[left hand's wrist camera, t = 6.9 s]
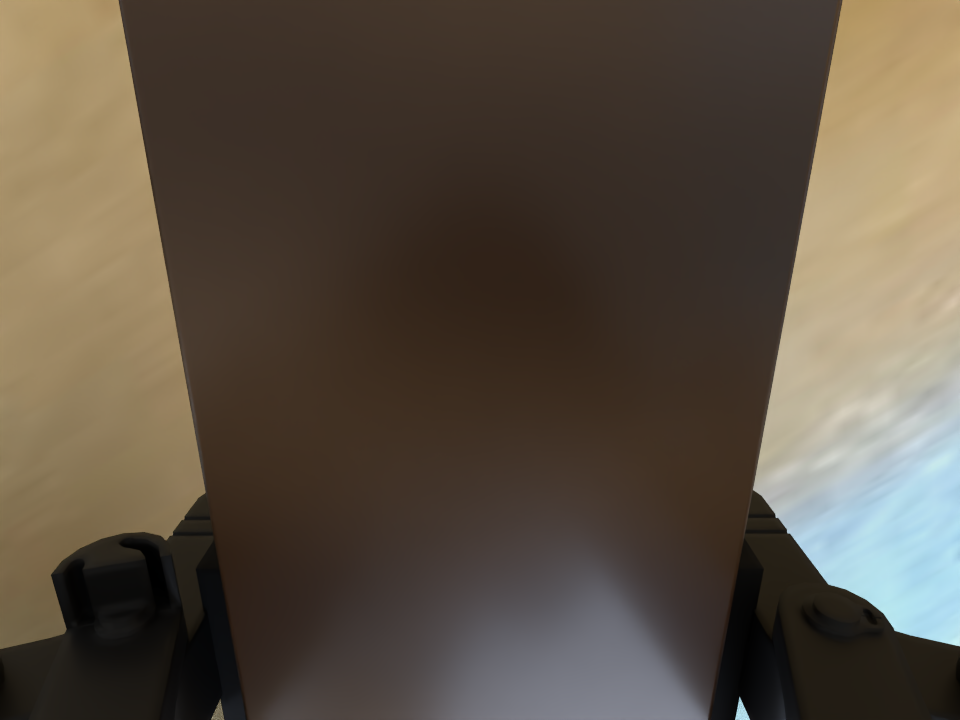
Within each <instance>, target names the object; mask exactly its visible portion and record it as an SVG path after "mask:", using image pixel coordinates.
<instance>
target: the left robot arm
mask: <svg viewBox="0 0 960 720" xmlns="http://www.w3.org/2000/svg"><path fill="white" fill-rule="evenodd" d="M51 577H52V580H53V584H54V587H55V591H56V594H57V598H58V601H59V604H60V608H61V611H62V615H63V618H64V622H65V625H66V628H67V630H66V632H65V634H62V635H59V636H56V637H52V638H48V639H44V640H39V641H35V642H31V643H26V644H22V645H17V646H13V647H8V648H4V649H0V720H211V718H212V716H213V714H214V712H215V709H216V707H217V705H218V703H219V700H220V699H221V704H222V709H223V714H224V720H246V716H245V711H244V705H243V699H242V694H241V688H240V682H239V677H238V671H237V665H236V660H235V654H234V649H233V643H232V637H231V632H230V626H229V620H228V615H227V609H226V603H225V598H224V592H223V586H222V581H221V575H220V569H219V564H218V558H217V553H216V547H215V541H214V536H213V530H212V524H211V519H210V513H209V507H208V502H207V496H206V493H205V494H204V495H202V496H201V497H199V498H198V499H197V501H196V502H195V503H194V505H193V506H192V507H191V509H190V510H189V511H188V513H187V514H186V515H185V519H184V520H182V521H181V522H180V523H179V525H178V526H177V527H176V529H175V530H174V531H173V536H170V537H169V538H168V539H167V541H166V540H165V539H164V538H162V537H161V536H159V535H154V534H150V533H145V532H140V533H123V534H119V535H115V536H111V537H107V538H103V539H100V540H98V541H96V542H94V543H91V544H89V545H87V546H85V547H82V548H80V549H79V550H77V551H76V552H74V553H73V554H72V555H70V556H69V557H67V558H66V559H64V560H63V561H62V562H61V563H60V564H59V566H58V567H57V568H56V569H55V570H54V572H53V573H52V574H51ZM739 697H740V698H741V700H742V703H743V705H744V707H745V709H746V711H747V714H748V716H749V718H750V720H960V646H955V645H951V644H946V643H942V642H937V641H933V640H928V639H924V638H919V637H915V636H910V635H907V634H903V633H900V632H897V631H894V628H893V627H892V625H891V624H890V623H889V621H888V620H887V618H886V617H885V615H884V614H883V613H882V612H881V611H879V610H878V609H877V608H876V607H874V606H873V605H872V604H871V603H869V602H868V601H867V600H865V599H863V598H861V597H859V596H857V595H855V594H853V593H851V592H849V591H847V590H845V589H842V588H838V587H835V586H831V585H828V584H827V582H826V581H825V580H824V578H823V577H822V576H821V574H820V573H819V572H818V570H817V569H816V568H815V566H814V565H813V564H812V562H811V561H810V560H809V558H808V557H807V556H806V554H805V553H804V552H803V550H802V549H801V548H800V546H799V545H798V544H797V542H796V541H795V540H794V538H793V537H792V536H791V534H787V529H786V528H785V527H784V525H783V524H782V523H781V521H780V520H779V519H778V518H776V517H775V513H774V512H773V511H772V509H771V508H770V507H769V505H768V504H767V503H766V501H765V500H764V499H763V497H762V496H761V495H759V494H758V493H756V492H755V491H752V497H751V502H750V508H749V513H748V519H747V524H746V530H745V535H744V540H743V546H742V551H741V557H740V562H739V568H738V573H737V579H736V584H735V590H734V595H733V601H732V606H731V612H730V617H729V622H728V628H727V633H726V639H725V644H724V650H723V655H722V661H721V666H720V672H719V677H718V683H717V688H716V693H715V699H714V704H713V710H712V715H711V720H735V717H736V712H737V707H738V702H739Z"/></svg>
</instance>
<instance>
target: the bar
mask: <svg viewBox="0 0 960 720" xmlns="http://www.w3.org/2000/svg"><path fill="white" fill-rule="evenodd" d="M119 5H120V10H121V16H122V22H123V27H124V33H125V39H126V44H127V50H128V56H129V61H130V67H131V72H132V78H133V84H134V89H135V95H136V101H137V106H138V112H139V118H140V123H141V129H142V135H143V140H144V146H145V152H146V157H147V163H148V168H149V174H150V180H151V185H152V191H153V197H154V202H155V208H156V214H157V219H158V225H159V231H160V236H161V242H162V248H163V253H164V259H165V264H166V270H167V276H168V281H169V287H170V293H171V298H172V304H173V310H174V315H175V321H176V327H177V332H178V338H179V344H180V349H181V355H182V361H183V366H184V372H185V377H186V383H187V389H188V394H189V400H190V406H191V411H192V417H193V423H194V428H195V434H196V440H197V445H198V451H199V457H200V462H201V468H202V473H203V479H204V485H205V490H206V496H207V502H208V507H209V513H210V519H211V524H212V530H213V536H214V541H215V547H216V553H217V558H218V564H219V569H220V575H221V581H222V586H223V592H224V598H225V603H226V609H227V615H228V620H229V626H230V632H231V637H232V643H233V649H234V654H235V660H236V665H237V671H238V677H239V682H240V688H241V694H242V699H243V705H244V711H245V716H246V720H711V715H712V710H713V704H714V699H715V693H716V688H717V683H718V677H719V672H720V666H721V661H722V655H723V650H724V644H725V639H726V633H727V628H728V622H729V617H730V612H731V606H732V601H733V595H734V590H735V584H736V579H737V573H738V568H739V562H740V557H741V551H742V546H743V540H744V535H745V530H746V524H747V519H748V513H749V508H750V502H751V497H752V491H753V486H754V480H755V475H756V469H757V464H758V459H759V453H760V448H761V442H762V437H763V431H764V426H765V420H766V415H767V409H768V404H769V398H770V393H771V387H772V382H773V377H774V371H775V366H776V360H777V355H778V349H779V344H780V338H781V333H782V327H783V322H784V316H785V311H786V306H787V300H788V295H789V289H790V284H791V278H792V273H793V267H794V262H795V256H796V251H797V245H798V240H799V235H800V229H801V224H802V218H803V213H804V207H805V202H806V196H807V191H808V185H809V180H810V174H811V169H812V163H813V158H814V153H815V147H816V142H817V136H818V131H819V125H820V120H821V114H822V109H823V103H824V98H825V92H826V87H827V82H828V76H829V71H830V65H831V60H832V54H833V49H834V43H835V38H836V32H837V27H838V21H839V16H840V10H841V5H842V0H119Z"/></svg>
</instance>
